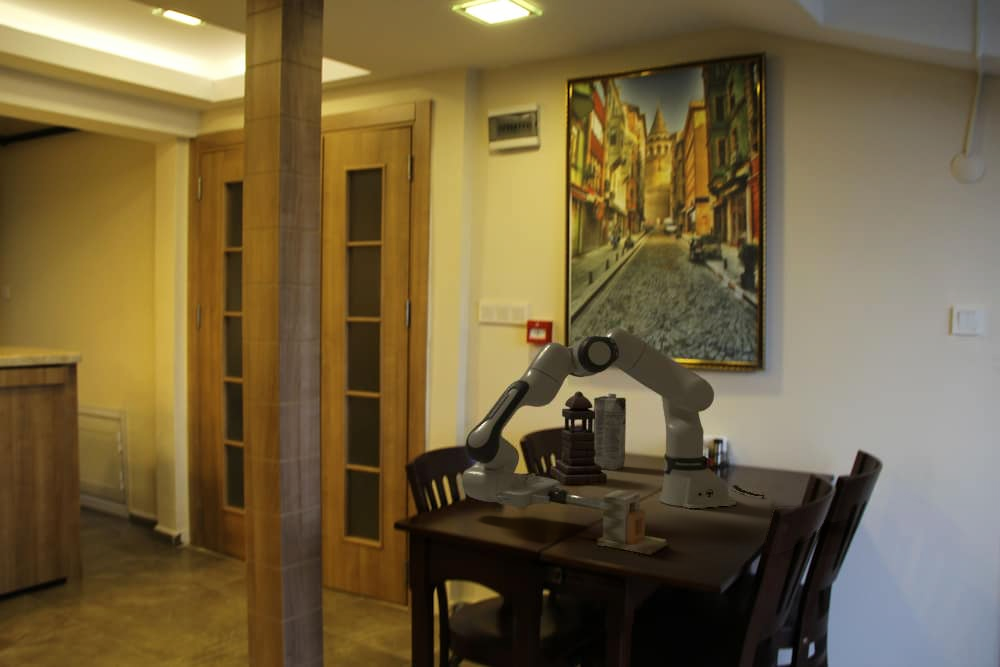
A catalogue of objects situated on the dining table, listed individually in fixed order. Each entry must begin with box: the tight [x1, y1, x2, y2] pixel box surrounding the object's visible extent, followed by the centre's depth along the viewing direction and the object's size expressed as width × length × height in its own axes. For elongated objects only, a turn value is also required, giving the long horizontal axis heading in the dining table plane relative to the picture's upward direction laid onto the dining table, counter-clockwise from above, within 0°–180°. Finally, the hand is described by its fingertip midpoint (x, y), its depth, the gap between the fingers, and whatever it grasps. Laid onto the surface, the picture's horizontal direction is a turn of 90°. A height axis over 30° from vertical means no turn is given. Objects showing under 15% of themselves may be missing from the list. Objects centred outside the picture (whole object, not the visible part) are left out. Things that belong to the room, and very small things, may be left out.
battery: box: [593, 393, 627, 471], centre depth 296 cm, size 9×10×27 cm
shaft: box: [548, 490, 604, 511], centre depth 210 cm, size 18×3×3 cm, turn 56°
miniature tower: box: [549, 390, 608, 486], centre depth 276 cm, size 16×15×30 cm
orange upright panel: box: [626, 508, 646, 544], centre depth 202 cm, size 2×7×7 cm, turn 146°
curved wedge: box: [732, 484, 765, 497], centre depth 259 cm, size 8×14×2 cm, turn 179°
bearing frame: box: [597, 489, 667, 554], centre depth 202 cm, size 14×10×12 cm
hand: (558, 497), depth 214 cm, fingers open, 8 cm apart
